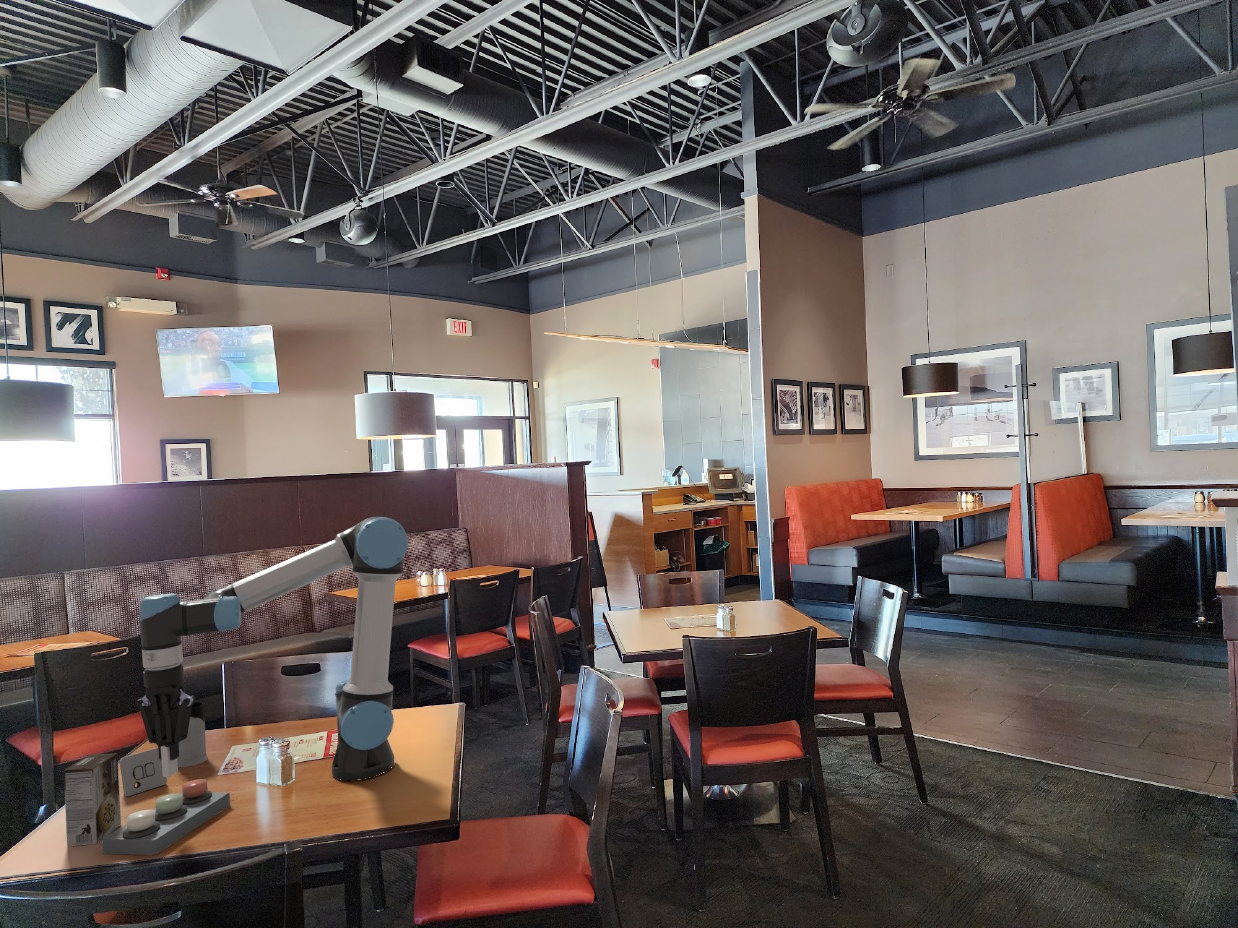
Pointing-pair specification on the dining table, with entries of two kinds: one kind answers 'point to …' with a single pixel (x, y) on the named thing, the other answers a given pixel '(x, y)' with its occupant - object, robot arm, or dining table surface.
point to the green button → (169, 803)
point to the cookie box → (92, 799)
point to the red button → (194, 788)
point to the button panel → (167, 826)
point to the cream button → (140, 820)
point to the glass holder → (193, 739)
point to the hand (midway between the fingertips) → (170, 774)
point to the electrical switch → (141, 772)
